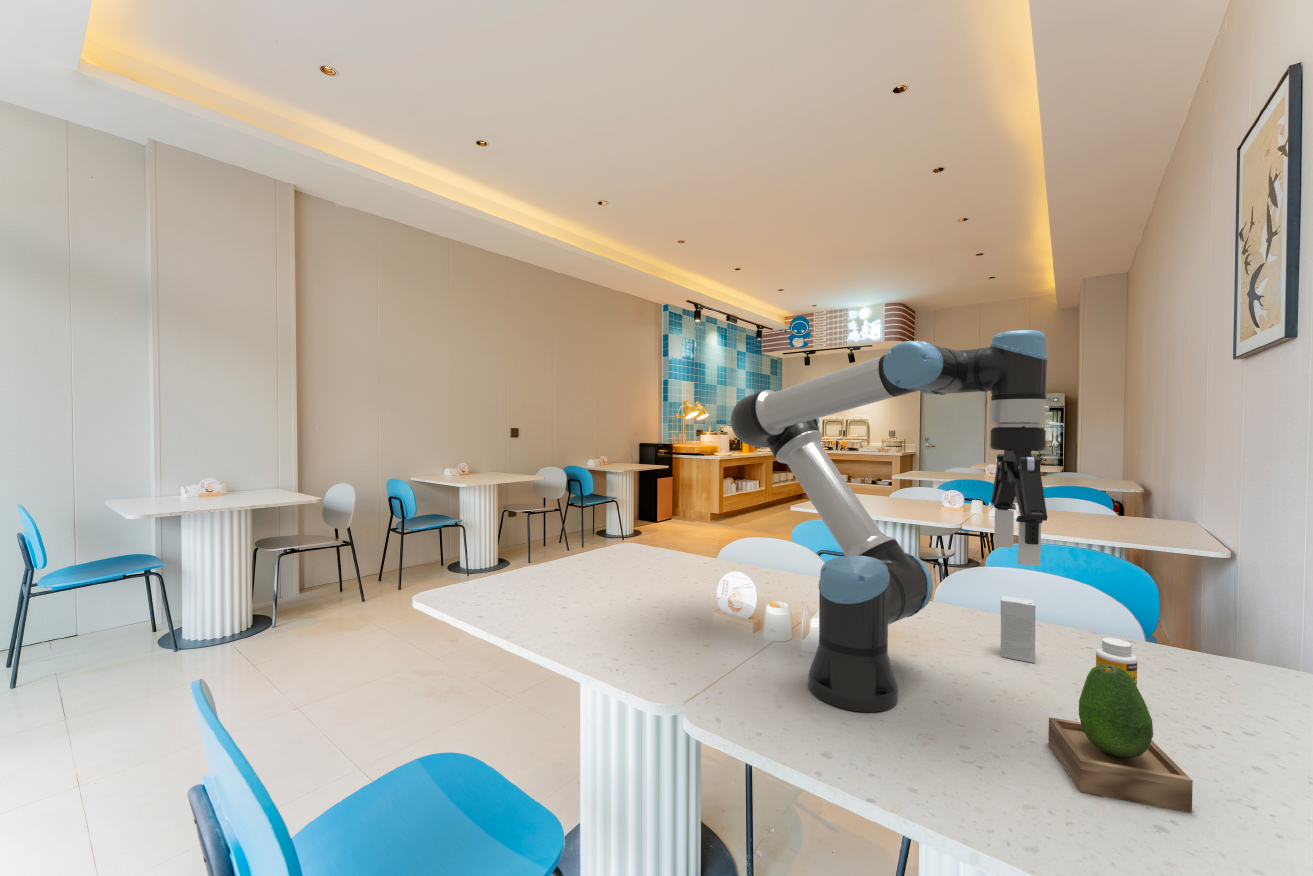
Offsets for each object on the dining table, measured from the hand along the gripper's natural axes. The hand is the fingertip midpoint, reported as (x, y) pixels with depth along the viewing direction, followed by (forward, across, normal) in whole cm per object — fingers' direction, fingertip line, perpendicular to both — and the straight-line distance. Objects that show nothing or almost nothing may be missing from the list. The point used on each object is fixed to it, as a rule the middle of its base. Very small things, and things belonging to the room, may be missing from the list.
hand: (1015, 555), depth 89 cm
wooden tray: (+27, -13, -8) cm, 31 cm away
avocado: (+24, -14, -8) cm, 29 cm away
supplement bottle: (+27, +13, -19) cm, 35 cm away
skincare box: (+27, +28, -8) cm, 40 cm away
